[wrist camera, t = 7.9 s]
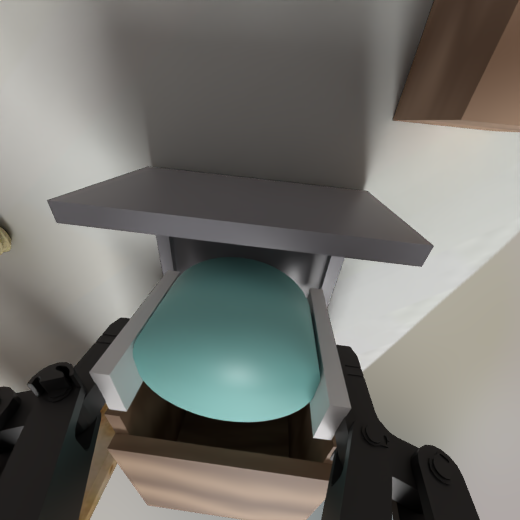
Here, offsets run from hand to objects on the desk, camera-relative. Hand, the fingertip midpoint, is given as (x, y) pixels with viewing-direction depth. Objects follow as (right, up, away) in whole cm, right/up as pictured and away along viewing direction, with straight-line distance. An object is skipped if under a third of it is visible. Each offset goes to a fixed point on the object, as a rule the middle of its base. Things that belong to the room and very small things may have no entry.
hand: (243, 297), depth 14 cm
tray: (0, 0, +3) cm, 3 cm away
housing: (-1, -10, +10) cm, 14 cm away
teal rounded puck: (0, -1, -1) cm, 2 cm away
